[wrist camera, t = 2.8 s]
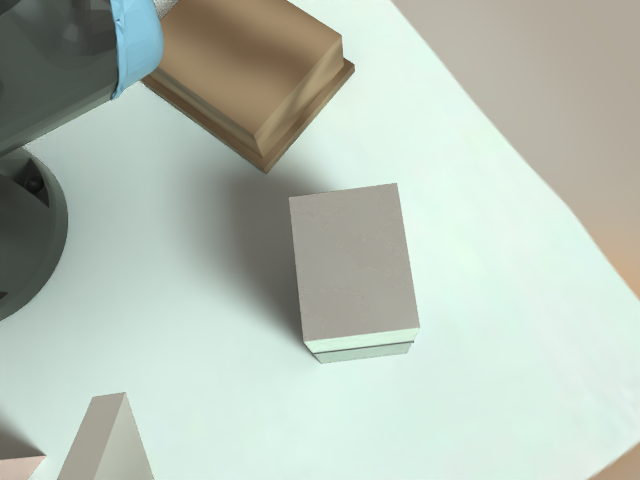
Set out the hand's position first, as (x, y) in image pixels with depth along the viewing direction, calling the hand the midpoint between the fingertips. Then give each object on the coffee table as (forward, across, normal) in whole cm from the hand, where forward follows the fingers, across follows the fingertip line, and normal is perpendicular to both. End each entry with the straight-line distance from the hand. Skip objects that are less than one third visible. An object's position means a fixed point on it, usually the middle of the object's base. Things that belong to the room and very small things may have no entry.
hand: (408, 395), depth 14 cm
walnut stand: (+40, -5, +2) cm, 40 cm away
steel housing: (+26, 0, -13) cm, 29 cm away
